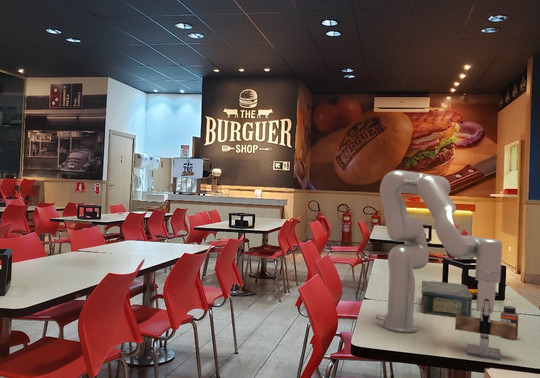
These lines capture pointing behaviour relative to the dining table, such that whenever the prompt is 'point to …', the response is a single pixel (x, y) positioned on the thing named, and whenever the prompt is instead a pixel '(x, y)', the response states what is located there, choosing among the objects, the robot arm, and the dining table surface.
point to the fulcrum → (483, 349)
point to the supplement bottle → (510, 317)
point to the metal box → (446, 299)
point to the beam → (496, 327)
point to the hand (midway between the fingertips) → (484, 331)
